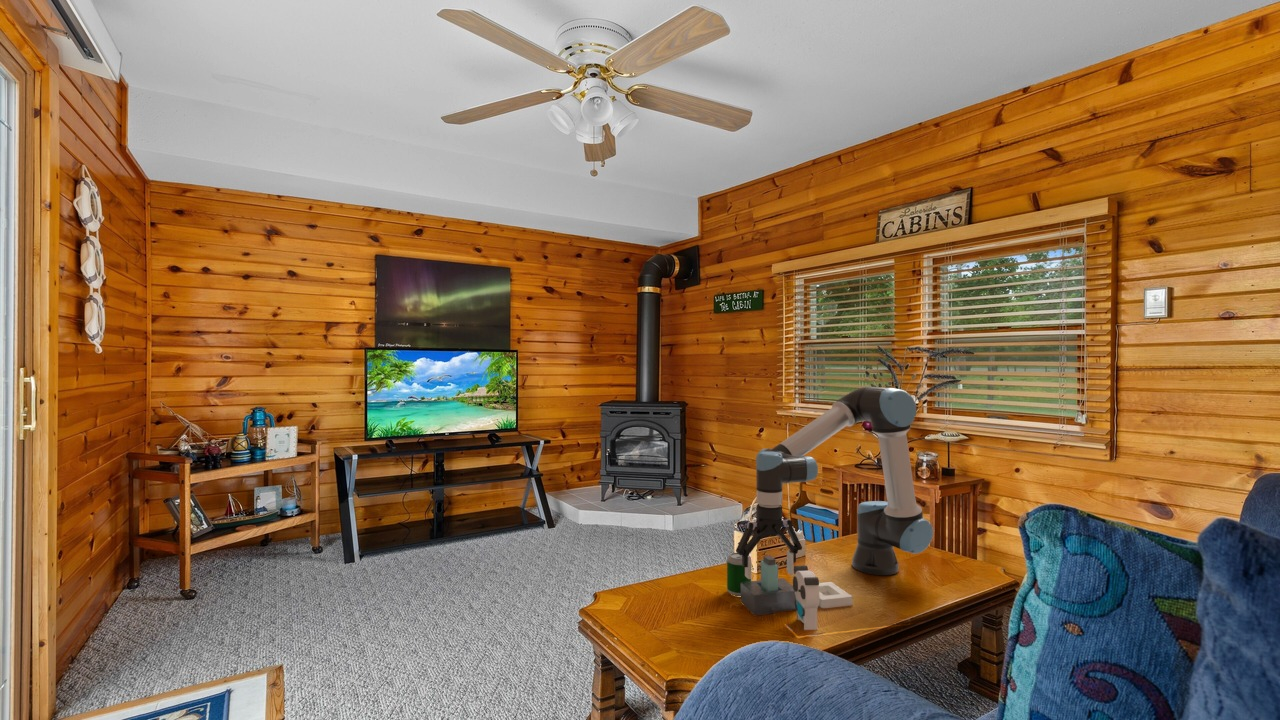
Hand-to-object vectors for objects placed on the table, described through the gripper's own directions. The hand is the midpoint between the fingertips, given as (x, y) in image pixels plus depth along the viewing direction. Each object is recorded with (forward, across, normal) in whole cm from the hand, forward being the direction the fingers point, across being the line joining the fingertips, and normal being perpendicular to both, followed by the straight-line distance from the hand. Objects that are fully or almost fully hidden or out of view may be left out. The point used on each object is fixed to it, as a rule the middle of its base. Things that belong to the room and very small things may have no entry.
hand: (769, 575), depth 182 cm
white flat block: (+9, -19, 0) cm, 21 cm away
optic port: (+9, 0, 0) cm, 9 cm away
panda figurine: (+10, -5, +14) cm, 17 cm away
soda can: (+9, +5, -11) cm, 15 cm away
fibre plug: (+7, 0, 0) cm, 7 cm away
